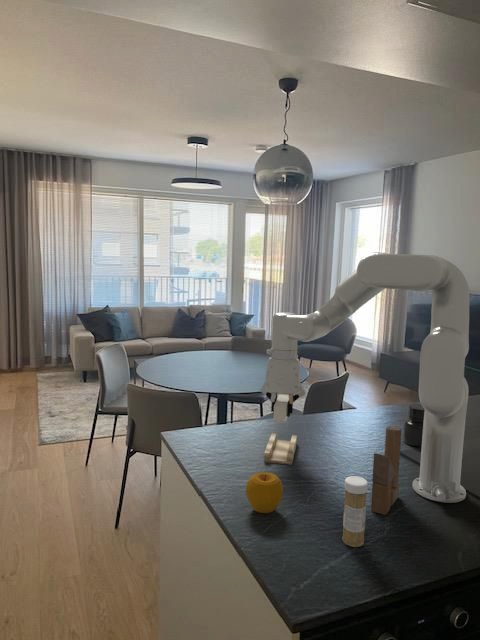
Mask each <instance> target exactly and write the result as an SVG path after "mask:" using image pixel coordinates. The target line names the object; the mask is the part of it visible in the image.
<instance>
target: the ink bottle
mask: <svg viewBox="0 0 480 640" xmlns="http://www.w3.org/2000/svg"><path fill="white" fill-rule="evenodd" d="M424 412H425V409H424V408H423V406H422V404H421V403H410V404H409V405H408V411H407V413H408V414H407V417H408V418H406V419H405V420H404V423H403V434H402V437H403V442H404V443H405V444H407V445H409V446H413V447H416V448H417V447H418V448H422V435H423V422H424Z"/></svg>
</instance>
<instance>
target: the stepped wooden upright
mask: <svg viewBox="0 0 480 640" xmlns="http://www.w3.org/2000/svg"><path fill="white" fill-rule="evenodd" d="M384 439H385V441H384V443H385V444H384V454H380V453H376V452H374V453H373V463H372V464H373V467H372V487H371V505H370V512H373V513H377V514H381V515H383V516H386V515H387V514H388V513H389V511H390V510H391V506H393V505H394V504H395V502H396V501H397V500H398V498H399V494H400V493H399V492H400V491H399V490H400V483H399V476H400V475H399V474H400V463H401V462H400V461H401V460H400V459H401V445H402V428H401V427H398V426H396V425H389V426H386V428H385V438H384Z"/></svg>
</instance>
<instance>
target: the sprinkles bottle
mask: <svg viewBox="0 0 480 640" xmlns="http://www.w3.org/2000/svg"><path fill="white" fill-rule="evenodd" d="M368 487H369V485H368V481H367V480H366V478H363V477H361V476H357V475H356V476H355V475H352V476H348V477H346V478H345V479H344V493H345V494H344V504H343V505H344V507H343V509H344V510H343V518H342V521H343V523H342V526H343V528H342V530H343V531H342V537H341V538H342V539H341V540H342V542H343V543H344V544H345V545H347V546H349V547H352V548H358V547H359V548H360V547H362V546H363V545H364V544H365V529H366V514H367V513H366V512H367V493H368Z"/></svg>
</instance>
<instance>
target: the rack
mask: <svg viewBox="0 0 480 640" xmlns="http://www.w3.org/2000/svg"><path fill="white" fill-rule="evenodd" d="M297 441H298V435H295V434H292V435H291V438H290V440H285V439H284V440H283V439H277V433H274V432H272V433H271V435H270V437H269V439H268V441H267V445H266V447H265V450H264V451H263V452H264V453H263V462H264V463H272V464H280V465H282V464H283V465H291V466H292V465H293V463H294V458H295V453H296V449H297V443H298V442H297Z"/></svg>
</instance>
